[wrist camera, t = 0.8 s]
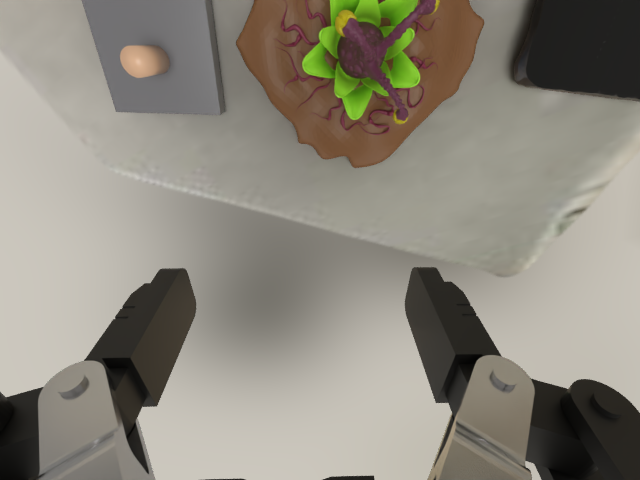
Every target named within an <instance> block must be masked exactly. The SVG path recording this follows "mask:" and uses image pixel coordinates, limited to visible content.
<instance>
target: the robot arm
mask: <svg viewBox="0 0 640 480" xmlns="http://www.w3.org/2000/svg"><path fill="white" fill-rule="evenodd" d="M405 311H406V316H407V319H408V322H409V325H410V327H411V331H412V334H413V337H414V339H415V342H416V345H417V348H418V351H419V354H420V357H421V360H422V363H423V366H424V369H425V372H426V375H427V378H428V381H429V384H430V387H431V390H432V393H433V396H434V399H435V401H436V403H449V405H450V408H451V411H452V414H451V416H450V419H449V422H448V424H447V427H446V430H445V433H444V435H443V438H442V441H441V444H440V447H439V449H438V452H437V455H436V458H435V461H434V463H433V466H432V469H431V472H430V474H429V477H428V479H427V480H532V475H531V472H530V470H529V469H528V468H526V467H525V461H528V462H531V463H534V464H535V466H536V468H537V471H538V473H539V475H540V477H541V479H542V480H640V413H639V412H638V410H637V409H636V408H635V407H634V406H633V405H632V403H630V401H628V400H627V399H626V398H625V397H624V396H623V395H621V394H620V393H619V392H617V391H616V390H614V389H612V388H610V387H609V386H607V385H604V384H602V383H600V382H597V381H593V380H588V379H581V380H577V381H576V382H574V383H573V384H572V385H571V386H570V388H569V389H566V388H563V387H559V386H555V385H552V384H548V383H544V382H540V381H537V380H534V379H531V378H530V377H529V376H528V375H527V374H526V372H525V371H524V370H523V369H522V368H521V367H520V366H518V365H517V364H515V363H514V362H512V361H511V360H509V359H506V358H504V357H502V356H501V355H500V353H499V351H498V350H497V348H496V346H495V345H494V343H493V341H492V340H491V338H490V336H489V334H488V333H487V331H486V330H485V328H484V326H483V324H482V323H481V321H480V319H479V318H478V316H476V313H475V311H474V309H473V307H472V306H470V303H469V301H468V299H467V297H466V296H465V294H464V292H463V291H461V290H460V289H459V288H458V287H457V286H456V285H455V284H453V283H452V282H444V281H443V279H442V277H441V275H440V273H439V271H438V270H437V268H434V267H420V268H419V267H414V268H413V269H412V271H411V275H410V280H409V284H408V290H407V293H406V299H405ZM195 313H196V300H195V296H194V293H193V290H192V286H191V283H190V280H189V276H188V273H187V271H186V270H185V269H183V268H180V269H160V270H159V271H158V273H157V274H156V276H155V277H154V279H153V280H152V282H151V283H146V284H144V285H143V286H141V287H140V288H139V289H137V290H136V291H135V292H133V293H132V294H131V295H130V297H129V298H128V300H127V301H126V302H125V304H124V305H123V308H122V309H120V311H119V312H118V314H117V315H116V317H115V319H114V320H113V321H112V322H111V324H110V325H109V327H108V328H107V329H106V331H105V332H104V334H103V335H102V336H101V338H100V339H99V341H98V342H97V343H96V345H95V346H94V348H93V349H92V351H91V352H90V354H89V355H88V356H87V358H86V359H85V360H84V361H82V362H79V363H75V364H73V365H71V366H69V367H67V368H65V369H63V370H62V371H60V372H59V373H57V374H56V375H55V376H53V378H51V379H50V380H49V381H48V382H47V383H46V385H45V386H44V387H42V388H38V389H34V390H31V391H27V392H24V393H20V394H17V395H13V396H10V397H5V396H4V395H3V394H2V393H1V392H0V480H155V477H154V474H153V470H152V467H151V463H150V459H149V456H148V453H147V449H146V445H145V442H144V438H143V435H142V431H141V428H140V425H139V421H138V419H137V417H138V415H139V412H140V410H141V408H142V407H147V406H148V407H150V406H157V405H158V402H159V400H160V398H161V395H162V393H163V391H164V388H165V386H166V383H167V381H168V378H169V376H170V374H171V372H172V369H173V367H174V364H175V362H176V359H177V357H178V355H179V353H180V350H181V348H182V345H183V343H184V341H185V338H186V336H187V334H188V331H189V329H190V326H191V324H192V322H193V319H194V317H195ZM209 480H245V479H209ZM323 480H374V476H341V477H329V478H326V479H323Z"/></svg>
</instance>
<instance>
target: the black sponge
mask: <svg viewBox="0 0 640 480" xmlns="http://www.w3.org/2000/svg"><path fill="white" fill-rule="evenodd" d="M514 78H515V81H516V82H517V83H518V84H519V85H523V86H525V87H531V88H541V89H544V90H552V91H561V92H568V93H574V94H581V95H585V94H586V95H592V96H599V97H605V98H614V99H625V100H633V101H640V0H537V2H536V5H535V7H534V10H533V14H532V18H531V22H530V27H529V32H528V35H527V38H526V40H525V42H524V44H523V47H522V49H521V51H520V54H519V55H518V57H517V59H516V60H515V64H514Z"/></svg>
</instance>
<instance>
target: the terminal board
mask: <svg viewBox="0 0 640 480" xmlns="http://www.w3.org/2000/svg"><path fill="white" fill-rule="evenodd" d="M82 3H83V6H84V9H85V12H86V16H87V19H88V22H89V25H90V29H91V32H92V35H93V38H94V41H95V45H96V48H97V51H98V54H99V58H100V61H101V64H102V67H103V71H104V74H105V77H106V80H107V84H108V87H109V90H110V93H111V97H112V100H113V103H114V106H115V110H116V112H140V113H173V114H206V115H221V114H222V113H224V112H225V104H224V96H223V88H222V80H221V72H220V65H219V57H218V49H217V41H216V33H215V25H214V17H213V9H212V1H211V0H82Z"/></svg>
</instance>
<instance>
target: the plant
mask: <svg viewBox="0 0 640 480" xmlns="http://www.w3.org/2000/svg"><path fill="white" fill-rule="evenodd" d="M483 25H484V20H483V19H482V18H481V17H480V16H479V15H477V14H476V13H475V12H474V11H473V9H472V7H471V5H470V3H469V0H254V4H253V7H252V10H251V12H250V14H249V17H248V19H247V22H246V24H245V26H244V29H243V31H242V32H241V34H240V36H239V37H238V39H237V41H236V45H237V47H238V49H239V51H240V53H241V55H242V57H243V60H244V62H245V64H246V66H247V67H248V69H249V70H250V71H251V73H252V74H253V75H254V76H255V77H256V78H257V79H258V81H259V82H260V83H261V85H262V86H263V87H264V89H265V91H266V93H267V95H268V97H269V99H270V101H271V102H272V104H273V105H274V106H275V107H276V108H277V109H278V110H279V111H280V112H281V113H282V114H283V115H284V116H285V117H286V118H287V119H288V120H289V121H291V122H292V123H293V125H294V127H295V129H296V132H297V136H298V142H299V143H300V144H308V145H311V146H312V147H313V148H314V149H315V150H316V152H317V153H318V155H319V156H320V157H321V158H323V159H331V158H336V157H340V156H347V157H348V158H349V160H350V163H351V165H352V166H353V167H354V168H359V167H367V166H371V165H374V164H377V163H380V162H382V161H384V160H385V159H387V158H388V157H389V156H390V155H391V154H392V153H393V152H394V151H395V150H396V149H397V148H398V147H399V146H400V145H401V144H402V143H403V141H404V140H405V139H406V138H407V137H408V136H409V135H410V133H411V132H412V131H413V130H414V129H415V128H416V127H417V126H418V125H420V124H421V123H422V122H423V121H424V120H425V119H426V118H427V117H428V116H429V115H430V114H431V113H432V112H433V111H434V110H435V109H436V107H437V106H438V105H439V104H441V103H442V102H443V101H444V100H446V99H447V98H449V97H451V96H452V95H454V94H455V93H456V92H457V90H458V88H459V85H460V83H461V80H462V79H463V77H464V75H465V74H466V72H467V71H468V69H469V67H470V65H471V63H472V61H473V58H474V54H475V48H476V43H477V40H478V38H479V35H480V32H481V30H482V28H483Z"/></svg>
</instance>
